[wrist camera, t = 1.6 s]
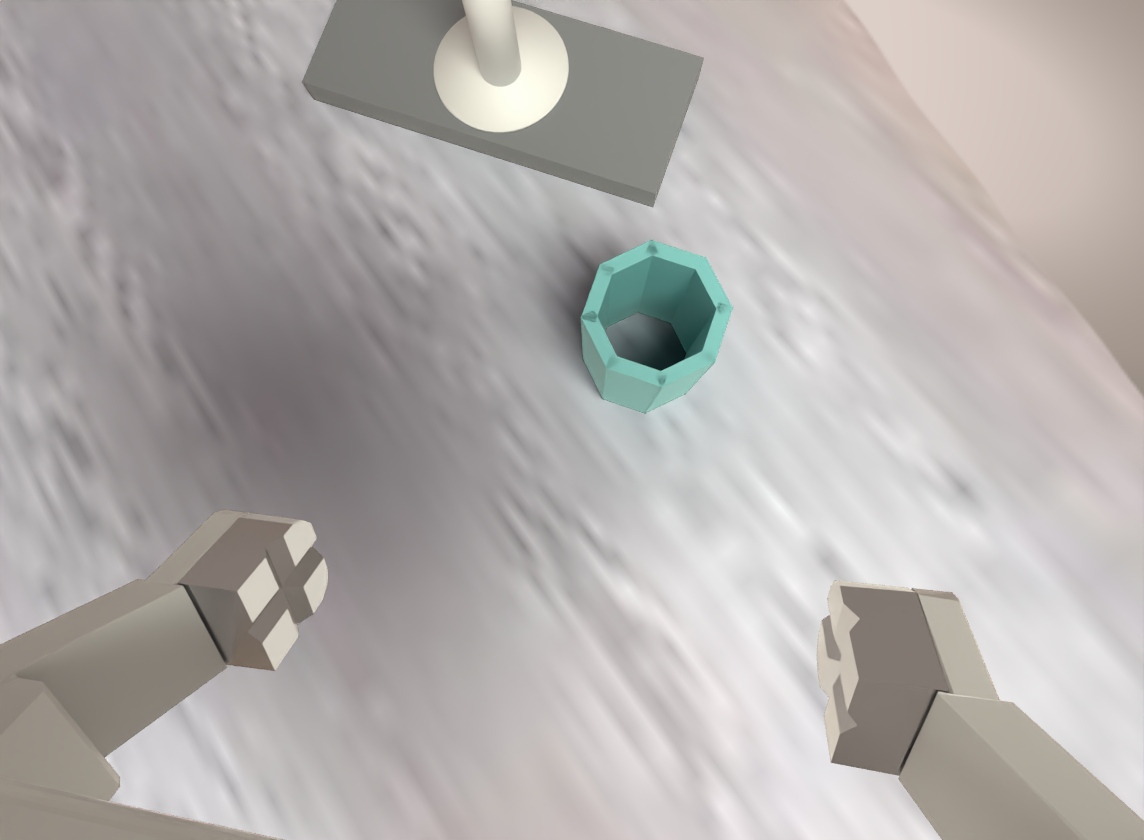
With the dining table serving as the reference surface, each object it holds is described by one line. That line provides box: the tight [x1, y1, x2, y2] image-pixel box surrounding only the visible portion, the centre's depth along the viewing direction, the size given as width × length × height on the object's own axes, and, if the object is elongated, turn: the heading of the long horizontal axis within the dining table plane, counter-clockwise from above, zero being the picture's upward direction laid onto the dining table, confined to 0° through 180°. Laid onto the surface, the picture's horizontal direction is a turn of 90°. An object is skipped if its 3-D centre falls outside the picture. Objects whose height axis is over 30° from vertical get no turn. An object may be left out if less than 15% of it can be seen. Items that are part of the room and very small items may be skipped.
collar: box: [581, 240, 733, 414], centre depth 29 cm, size 6×6×8 cm
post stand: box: [302, 0, 704, 207], centre depth 29 cm, size 20×8×13 cm, turn 71°
